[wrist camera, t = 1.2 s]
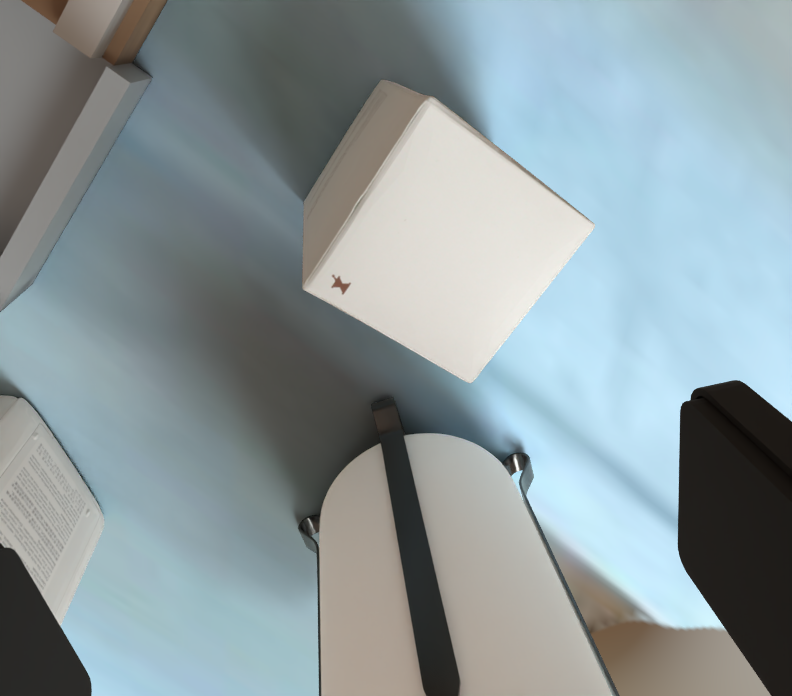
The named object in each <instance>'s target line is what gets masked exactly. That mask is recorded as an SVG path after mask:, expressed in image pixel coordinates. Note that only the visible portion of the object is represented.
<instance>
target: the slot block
mask: <svg viewBox="0 0 792 696" xmlns="http://www.w3.org/2000/svg"><path fill="white" fill-rule="evenodd" d="M21 1H23V2H24V3H25V4H27V5H28V6H30V7H31V8H32V9H34V10H35V11H37V12H38V13H40V14H41V15H42V16H44V17H45V18H47V19H48V20H50V21H51V22H52V23H54V24H55V25H56V26H55V28H54V30H53V33H55V34H56V35H58V36H59V37H61V38H62V39H63V40H65V41H66V42H68V43H69V44H71V45H72V46H73V47H75V48H76V49H78V50H79V51H81V52H82V53H84V54H85V55H86V56H88V57H89V58H101V57H102V58H104V59H105V60H106V61H108V62H109V63H111V64H112V65H113V66H114V65H122V64H129V63H132V62H133V60H134V58H135V57H136V55H137V53H138V51H139V50H140V48H141V46H142V44H143V43H144V41H145V39H146V37H147V36H148V34H149V32H150V30H151V29H152V27H153V25H154V23H155V22H156V20H157V18H158V16H159V15H160V13H161V11H162V9H163V7H164V6H165V4H166V2H167V0H21Z"/></svg>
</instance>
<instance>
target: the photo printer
mask: <svg viewBox="0 0 792 696" xmlns="http://www.w3.org/2000/svg"><path fill="white" fill-rule="evenodd" d="M104 524H105V522H104V517H103V514H102V512H101V510H100V507H99V505H98V503H97V502H96V500H95V498H94V497H93V495H92V494H91V492H90V491H89V489H88V487H87V485H86V484H85V483H84V481H83V480H82V478H81V476H80V475H79V473H78V472H77V470H76V469H75V467H74V466H73V464H72V463H71V461H70V460H69V458H68V457H67V455H66V454H65V452H64V451H63V449H62V448H61V446H60V445H59V443H58V442H57V440H56V439H55V437H54V436H53V434H52V432H51V431H50V430H49V428H48V427H47V426H46V424H45V423H44V422H43V420H42V419H41V417H40V416H39V415H38V413H37V412H36V411H35V410H34V409H33V407H32V406H31V405H30V404H29V403H28V402H27V401H26V400H25V399H23V398H18V399H17V398H16V397H13V396H6V395H0V543H1V544H2V545H3V546H4V548H12V549H14V550H15V551H16V553H17V554H18V555H19V557H20V559H21V560H22V562H23V564H24V565H25V567H26V569H27V571H28V572H29V574H30V576H31V577H32V579H33V581H34V582H35V584H36V586H37V588H38V589H39V591H40V593H41V594H42V596H43V598H44V600H45V601H46V603H47V605H48V606H49V608H50V610H51V612H52V613H53V615H54V617H55V618H56V620H57V622H58V623H59V625H60V626H61V624H62V622H63V619H64V617H65V615H66V612H67V610H68V608H69V606H70V603H71V601H72V599H73V596H74V594H75V592H76V589H77V587H78V585H79V583H80V580H81V578H82V576H83V574H84V572H85V569H86V567H87V565H88V562H89V560H90V558H91V556H92V553H93V551H94V549H95V547H96V545H97V542H98V540H99V538H100V535H101V533H102V531H103V528H104Z"/></svg>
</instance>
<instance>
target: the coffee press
mask: <svg viewBox="0 0 792 696" xmlns="http://www.w3.org/2000/svg"><path fill="white" fill-rule="evenodd" d="M371 406H372V411H373V415H374V418H375V422H376V426H377V430H378V433H379V437H380V442H381V443H380V444H378V445H376V446H374V447H372V448H370V449H368V450H367V451H365V452H363V453H362V454H360V455H359V456H358V457H356V458H355V459H354V460H353V461H351V462H350V463H349V464H348V465H347V466H346V467H345V468H344V469H343V470H342V471H341V472H340V474H339V475H338V476H337V477H336V479H335V480H334V482H333V483H332V485H331V487H330V488H329V490H328V492H327V494H326V497H325V499H324V502H323V506H322V510H321V515H320V516H318V515H312V516H309V517H307V518H305V519H304V520H302V521H301V523H300V524H299V527H298V529H299V532H300V534H301V536H302V538H303V540H304V542H305V545H306V546H307V547H308V548H309V549H310V550H312V551H313V552H315V553H316V554H317V578H318V649H319V696H619V694H618V692H617V689H616V687H615V685H614V683H613V681H612V679H611V677H610V674H609V673H608V670H607V668H606V666H605V664H604V662H603V660H602V657H601V655H600V653H599V651H598V649H597V647H596V645H595V643H594V640H593V638H592V636H591V634H590V632H589V630H588V628H587V625H586V623H585V621H584V619H583V617H582V615H581V613H580V610H579V608H578V606H577V604H576V602H575V600H574V598H573V595H572V593H571V591H570V589H569V587H568V585H567V583H566V581H565V578H564V576H563V574H562V572H561V570H560V568H559V566H558V563H557V561H556V559H555V557H554V555H553V553H552V551H551V549H550V546H549V544H548V542H547V540H546V538H545V536H544V534H543V531H542V529H541V527H540V525H539V523H538V521H537V519H536V516H535V514H534V512H533V510H532V508H531V506H530V504H529V501H528V499H527V497H526V494H527V491H528V489H529V486H530V484H531V482H532V480H533V478H534V474H533V470H532V466H531V462H530V458H529V456H528V455H527V454H525V453H514V454H511V455H510V456H508V457H507V458H506V459H505V460H504V462H503V463H501V462H500V461H499V460H498V459H497V458H496V457H495V456H493V455H492V454H491V453H490V452H488V451H487V450H485V449H484V448H482V447H480V446H479V445H477V444H475V443H473V442H470V441H468V440H465V439H462V438H459V437H455V436H451V435H445V434H435V433H421V434H412V435H406V436H405V433H404V430H403V426H402V423H401V420H400V416H399V413H398V410H397V407H396V403H395V401H394V398H393V397H392V398H389V399H385V400H382V401H379V402H376V403H372V404H371ZM521 470H523V472H522V474H521V476H520V480H519V485H520V489H521V493H522V497H523V500H522V498H521V496H520V494H519V491H518V489H517V487H516V485H515V483H514V481H513V479H512V478H511V476H512V475H513V474H514V473H515V472H517V471H521ZM523 501H524V502H523ZM317 532H319V546H318V544H317V542H316V541H315V540H314V539H313V538H312V537H311V536H312V535H313V534H315V533H317Z"/></svg>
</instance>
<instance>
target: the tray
mask: <svg viewBox="0 0 792 696" xmlns="http://www.w3.org/2000/svg"><path fill="white" fill-rule="evenodd" d="M55 26H56V25H55V24H54V23H52V22H51V21H50V20H48V19H47V18H45V17H44V16H42V15H41V14H40V13H38V12H37V11H35V10H34V9H32V8H31V7H30V6H28V5H27V4H25V3H24V2H23V1H21V0H0V312H1V311H2V310H3V309H5V308H6V307H7V306H8V305H9V304H10V303H11V302H12V301H14V300H15V299H16V298H17V297H18V296H19V295H20V294H22V293H23V292H24V291H25V290H26V289H27V288H28V287H29V286H31V285H32V284H33V282H34V280H35V279H36V277H37V275H38V273H39V272H40V270H41V268H42V267H43V265H44V263H45V261H46V260H47V258H48V256H49V254H50V253H51V251H52V249H53V248H54V246H55V244H56V242H57V241H58V239H59V237H60V236H61V234H62V232H63V230H64V229H65V227H66V225H67V224H68V222H69V220H70V218H71V217H72V215H73V213H74V212H75V210H76V208H77V206H78V205H79V203H80V201H81V200H82V198H83V196H84V194H85V193H86V191H87V189H88V188H89V186H90V184H91V182H92V181H93V179H94V177H95V176H96V174H97V172H98V170H99V169H100V167H101V165H102V164H103V162H104V160H105V158H106V157H107V155H108V153H109V152H110V150H111V148H112V146H113V145H114V143H115V141H116V140H117V138H118V136H119V134H120V133H121V131H122V129H123V127H124V126H125V124H126V122H127V121H128V119H129V117H130V115H131V114H132V112H133V110H134V109H135V107H136V105H137V103H138V102H139V100H140V98H141V97H142V95H143V93H144V91H145V90H146V88H147V86H148V85H149V83H150V81H151V79H152V77H151V76H149V75H148V74H147V73H145V72H144V71H142V70H141V69H140V68H138V67H137V66H135V65H134V64H133V63H129V64H122V65H114V66H113V65H112V64H111V63H109V62H108V61H106V60H105V59H104V58H102V57H101V58H89V57H88V56H86V55H85V54H84V53H82V52H81V51H79V50H78V49H76V48H75V47H73V46H72V45H71V44H69V43H68V42H66V41H65V40H63V39H62V38H61V37H59V36H58V35H56V34H55V33H53V30H54V28H55Z"/></svg>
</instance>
